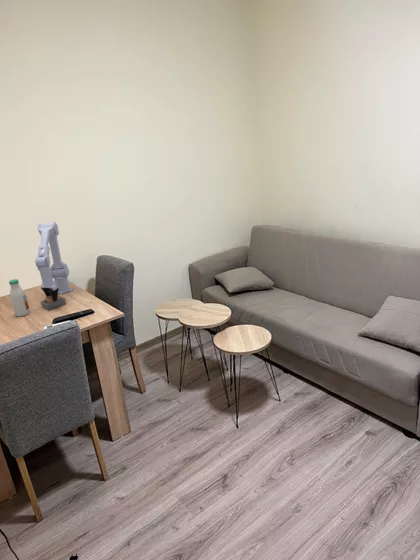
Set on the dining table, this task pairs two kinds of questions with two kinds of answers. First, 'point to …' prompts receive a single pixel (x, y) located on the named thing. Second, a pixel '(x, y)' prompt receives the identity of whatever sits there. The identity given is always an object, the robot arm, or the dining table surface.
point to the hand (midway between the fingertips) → (52, 299)
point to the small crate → (50, 300)
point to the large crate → (53, 304)
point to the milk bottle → (18, 299)
